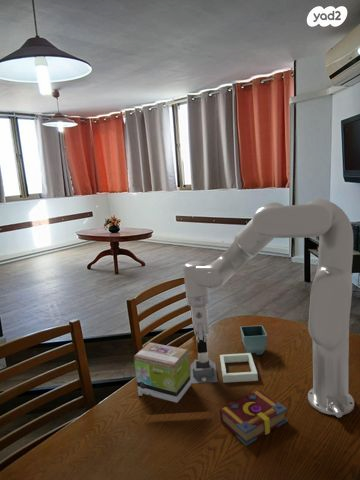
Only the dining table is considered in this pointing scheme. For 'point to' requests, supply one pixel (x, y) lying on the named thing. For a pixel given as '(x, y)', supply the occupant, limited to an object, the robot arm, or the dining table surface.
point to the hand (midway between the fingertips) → (202, 348)
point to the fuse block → (203, 372)
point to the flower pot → (254, 339)
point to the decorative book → (253, 416)
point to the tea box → (162, 371)
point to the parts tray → (242, 375)
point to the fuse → (203, 354)
